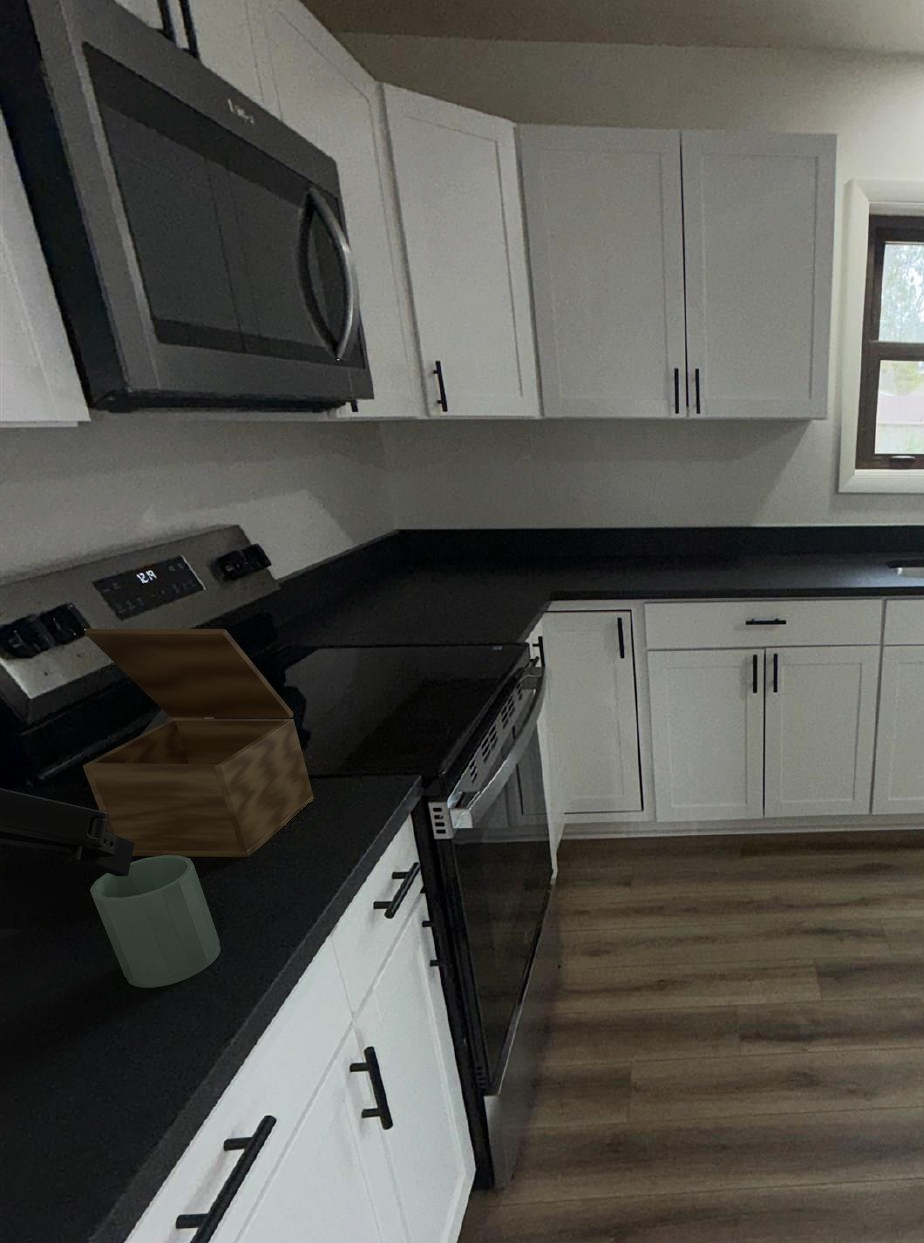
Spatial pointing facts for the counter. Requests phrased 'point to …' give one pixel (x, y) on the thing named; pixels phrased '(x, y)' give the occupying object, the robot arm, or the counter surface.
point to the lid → (192, 672)
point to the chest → (202, 786)
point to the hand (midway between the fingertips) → (34, 865)
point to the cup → (157, 921)
